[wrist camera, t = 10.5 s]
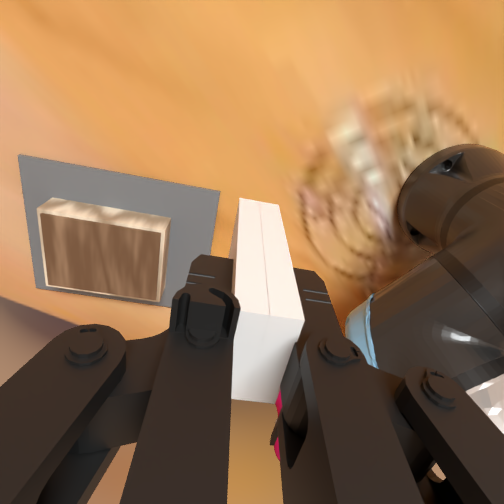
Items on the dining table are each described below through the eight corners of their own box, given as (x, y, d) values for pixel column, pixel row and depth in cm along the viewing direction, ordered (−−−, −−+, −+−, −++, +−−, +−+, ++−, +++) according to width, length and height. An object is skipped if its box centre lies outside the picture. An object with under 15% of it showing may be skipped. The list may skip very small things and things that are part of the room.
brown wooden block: (164, 231, 43) (35, 209, 42) (159, 303, 49) (44, 287, 47) (171, 217, 47) (52, 197, 46) (165, 286, 53) (59, 270, 51)
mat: (220, 191, 46) (219, 192, 46) (201, 309, 56) (200, 311, 56) (19, 154, 43) (17, 155, 43) (37, 286, 53) (36, 288, 53)
